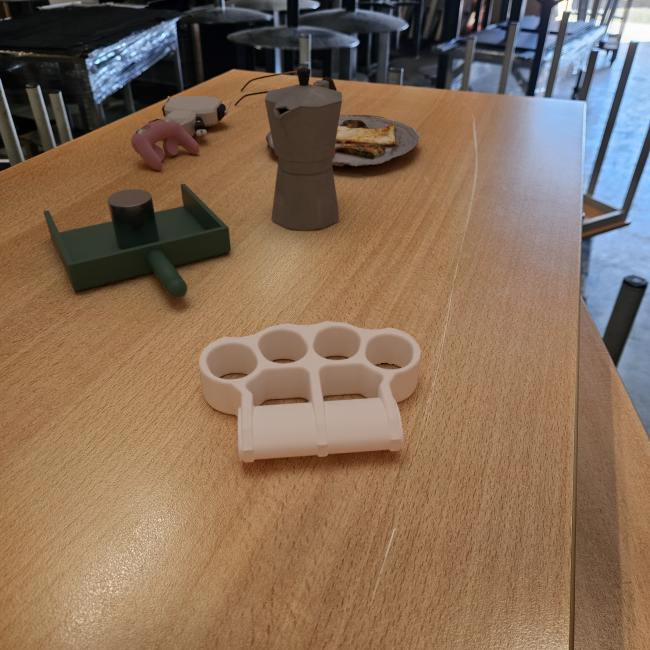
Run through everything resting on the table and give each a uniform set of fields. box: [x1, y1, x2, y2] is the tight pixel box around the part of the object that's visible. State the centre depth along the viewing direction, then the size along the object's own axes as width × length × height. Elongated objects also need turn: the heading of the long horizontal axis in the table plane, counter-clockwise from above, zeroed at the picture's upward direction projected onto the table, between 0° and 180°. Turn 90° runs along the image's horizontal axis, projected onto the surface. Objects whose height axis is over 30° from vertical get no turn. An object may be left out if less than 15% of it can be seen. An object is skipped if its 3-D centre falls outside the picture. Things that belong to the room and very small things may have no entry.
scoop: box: [42, 183, 232, 299], centre depth 64 cm, size 23×17×4 cm
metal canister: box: [107, 188, 159, 250], centre depth 66 cm, size 5×5×6 cm
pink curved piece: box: [130, 119, 200, 172], centre depth 89 cm, size 10×5×7 cm, turn 149°
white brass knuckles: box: [198, 320, 422, 463], centre depth 46 cm, size 3×18×15 cm
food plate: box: [265, 114, 422, 167], centre depth 95 cm, size 25×23×4 cm
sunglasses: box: [234, 69, 297, 107], centre depth 120 cm, size 14×15×5 cm
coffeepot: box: [264, 66, 343, 232], centre depth 70 cm, size 15×9×18 cm, turn 157°
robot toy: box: [147, 95, 233, 138], centre depth 101 cm, size 12×4×15 cm
